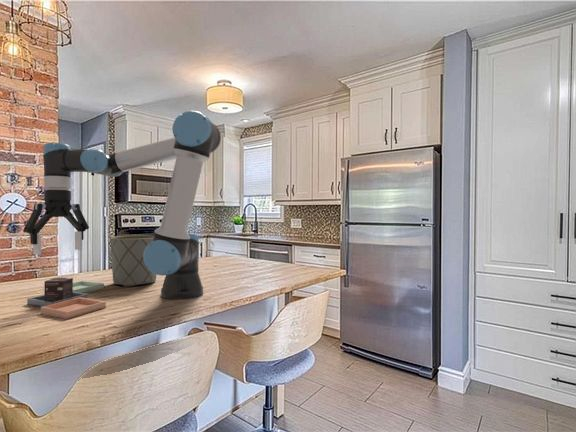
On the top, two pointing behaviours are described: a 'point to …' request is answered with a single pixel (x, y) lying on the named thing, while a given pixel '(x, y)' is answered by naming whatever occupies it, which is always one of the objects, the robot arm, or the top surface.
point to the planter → (130, 260)
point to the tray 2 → (86, 286)
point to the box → (58, 289)
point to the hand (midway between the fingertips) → (58, 252)
